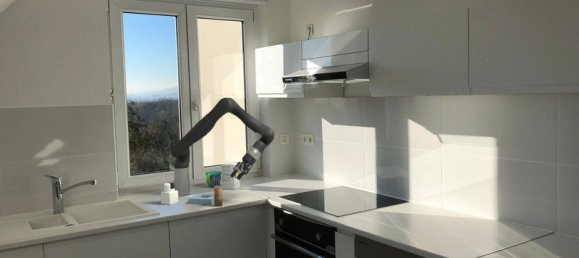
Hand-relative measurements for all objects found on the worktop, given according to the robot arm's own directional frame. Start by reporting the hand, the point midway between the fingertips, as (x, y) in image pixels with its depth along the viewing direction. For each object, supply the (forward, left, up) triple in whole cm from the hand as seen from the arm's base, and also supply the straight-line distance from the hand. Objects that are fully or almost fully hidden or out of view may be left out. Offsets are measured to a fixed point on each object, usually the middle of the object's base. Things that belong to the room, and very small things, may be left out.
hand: (234, 178), depth 282 cm
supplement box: (-17, +41, -15) cm, 47 cm away
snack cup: (-31, +46, -15) cm, 57 cm away
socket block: (-19, +2, -15) cm, 24 cm away
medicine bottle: (-38, -5, -15) cm, 41 cm away
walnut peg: (-7, -7, -15) cm, 18 cm away
